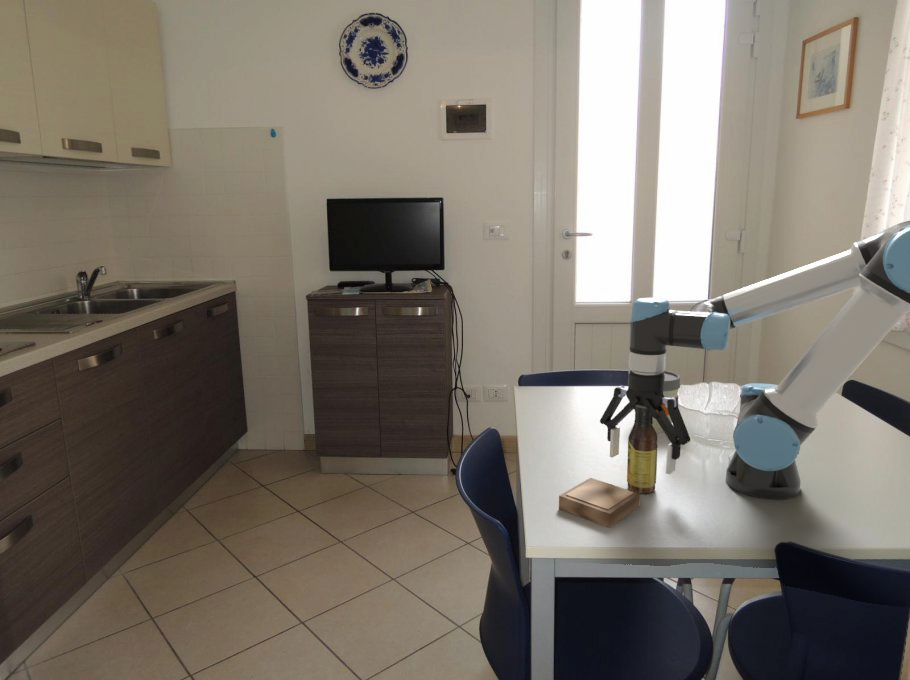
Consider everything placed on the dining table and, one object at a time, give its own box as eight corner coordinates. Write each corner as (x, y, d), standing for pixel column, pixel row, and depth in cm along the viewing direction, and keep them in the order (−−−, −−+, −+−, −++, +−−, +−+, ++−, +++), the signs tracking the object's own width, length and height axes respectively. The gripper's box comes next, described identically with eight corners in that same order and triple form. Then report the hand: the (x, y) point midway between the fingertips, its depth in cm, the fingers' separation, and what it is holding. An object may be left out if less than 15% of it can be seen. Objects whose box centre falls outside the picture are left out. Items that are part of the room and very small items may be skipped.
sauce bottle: (633, 480, 153) (637, 397, 149) (660, 487, 149) (665, 402, 145) (621, 490, 148) (624, 404, 144) (647, 498, 144) (652, 410, 140)
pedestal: (639, 506, 140) (640, 492, 140) (609, 527, 132) (609, 512, 131) (590, 490, 148) (590, 476, 148) (558, 508, 140) (559, 494, 139)
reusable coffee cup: (687, 430, 185) (690, 377, 182) (652, 437, 180) (654, 383, 176) (655, 416, 196) (658, 367, 193) (621, 423, 191) (623, 372, 187)
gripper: (711, 377, 137) (703, 474, 142) (604, 357, 154) (601, 444, 159) (695, 385, 132) (688, 485, 136) (586, 364, 149) (583, 453, 153)
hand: (641, 463), depth 147 cm, fingers open, 13 cm apart
